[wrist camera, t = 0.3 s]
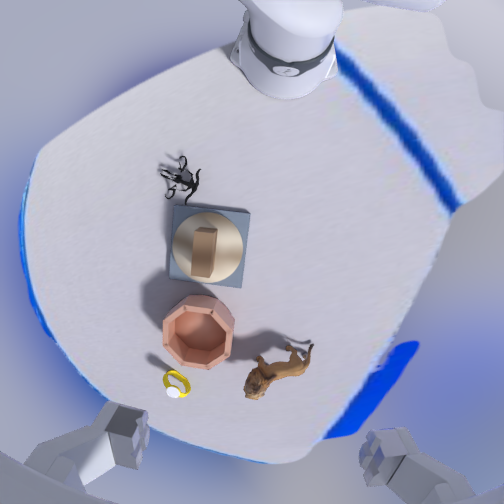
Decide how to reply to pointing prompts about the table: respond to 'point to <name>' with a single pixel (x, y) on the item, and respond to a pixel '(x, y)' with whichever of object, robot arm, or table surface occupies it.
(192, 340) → the octagonal planter
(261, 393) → the lion figurine
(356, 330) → the table surface
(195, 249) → the lid
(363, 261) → the table surface
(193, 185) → the creature
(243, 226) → the mat
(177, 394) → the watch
